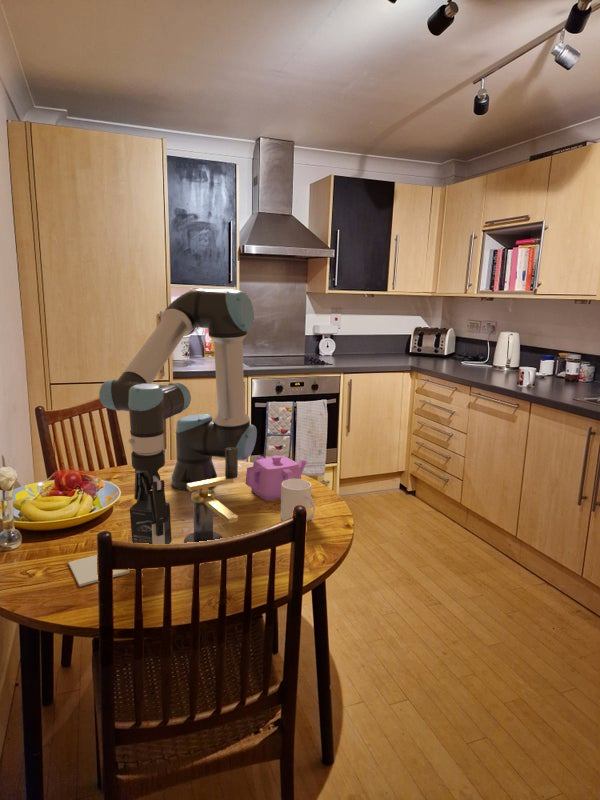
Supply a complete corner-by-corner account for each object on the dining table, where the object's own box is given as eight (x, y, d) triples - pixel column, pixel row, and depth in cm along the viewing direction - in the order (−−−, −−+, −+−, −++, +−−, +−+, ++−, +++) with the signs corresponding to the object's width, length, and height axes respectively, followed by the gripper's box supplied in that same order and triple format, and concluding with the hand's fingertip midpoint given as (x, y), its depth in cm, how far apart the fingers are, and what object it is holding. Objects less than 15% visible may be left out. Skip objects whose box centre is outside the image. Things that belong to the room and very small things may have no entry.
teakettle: (243, 498, 163) (243, 461, 160) (258, 480, 179) (259, 446, 177) (295, 505, 160) (296, 467, 157) (306, 485, 176) (307, 451, 173)
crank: (217, 526, 117) (217, 476, 114) (183, 497, 132) (183, 452, 129) (268, 513, 125) (269, 466, 122) (231, 487, 140) (231, 445, 137)
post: (177, 539, 136) (177, 496, 133) (212, 530, 141) (212, 489, 139) (193, 555, 128) (193, 510, 125) (229, 545, 133) (229, 502, 131)
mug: (302, 532, 142) (303, 496, 140) (274, 517, 151) (275, 482, 148) (324, 523, 148) (326, 488, 146) (296, 509, 156) (297, 476, 154)
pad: (68, 564, 122) (68, 562, 122) (116, 552, 128) (116, 550, 128) (79, 586, 113) (79, 584, 113) (129, 572, 119) (129, 570, 119)
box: (172, 542, 128) (170, 502, 126) (161, 553, 123) (159, 511, 120) (143, 537, 130) (141, 497, 127) (131, 548, 125) (128, 507, 122)
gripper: (118, 440, 127) (122, 523, 133) (148, 468, 110) (152, 562, 115) (147, 435, 132) (151, 516, 137) (181, 461, 114) (183, 553, 119)
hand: (151, 537), depth 126 cm, fingers closed on box, 9 cm apart
